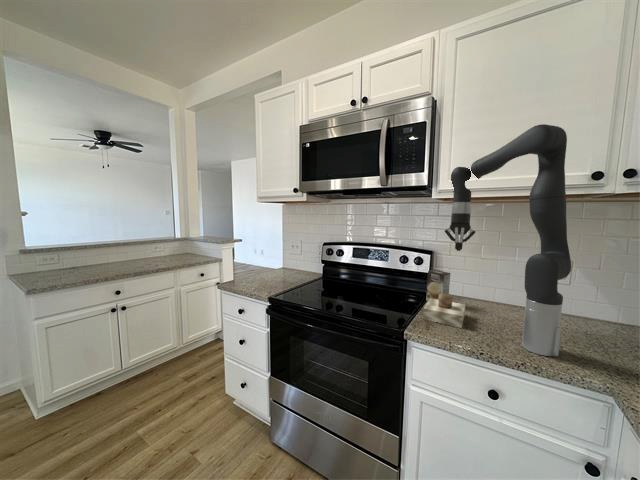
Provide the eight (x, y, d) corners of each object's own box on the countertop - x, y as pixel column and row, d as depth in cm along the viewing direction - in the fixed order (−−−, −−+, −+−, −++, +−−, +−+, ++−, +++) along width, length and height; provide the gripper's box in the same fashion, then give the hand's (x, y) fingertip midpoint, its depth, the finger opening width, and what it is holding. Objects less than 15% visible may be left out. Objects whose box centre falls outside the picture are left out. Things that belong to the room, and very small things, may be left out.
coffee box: (425, 300, 138) (427, 270, 136) (432, 298, 142) (434, 269, 140) (441, 305, 131) (443, 274, 129) (448, 303, 134) (450, 272, 133)
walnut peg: (451, 315, 117) (453, 294, 116) (450, 319, 112) (451, 298, 111) (438, 312, 120) (439, 292, 119) (436, 316, 115) (438, 295, 114)
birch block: (464, 315, 119) (465, 304, 118) (461, 328, 105) (462, 316, 105) (429, 308, 127) (430, 298, 126) (422, 319, 114) (423, 308, 113)
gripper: (478, 212, 118) (475, 250, 119) (446, 212, 125) (443, 248, 127) (477, 212, 111) (474, 253, 113) (443, 212, 118) (441, 250, 120)
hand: (458, 250), depth 120 cm, fingers closed
